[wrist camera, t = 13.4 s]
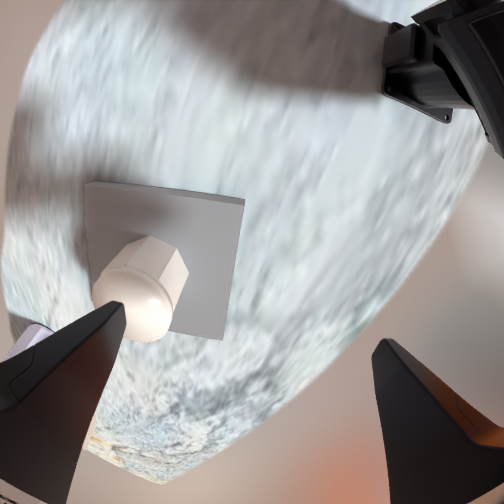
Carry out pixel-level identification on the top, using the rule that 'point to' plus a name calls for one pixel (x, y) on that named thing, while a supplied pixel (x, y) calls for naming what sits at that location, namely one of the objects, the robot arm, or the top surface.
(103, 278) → the cap
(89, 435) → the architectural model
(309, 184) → the top surface
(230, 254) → the post base
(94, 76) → the top surface
